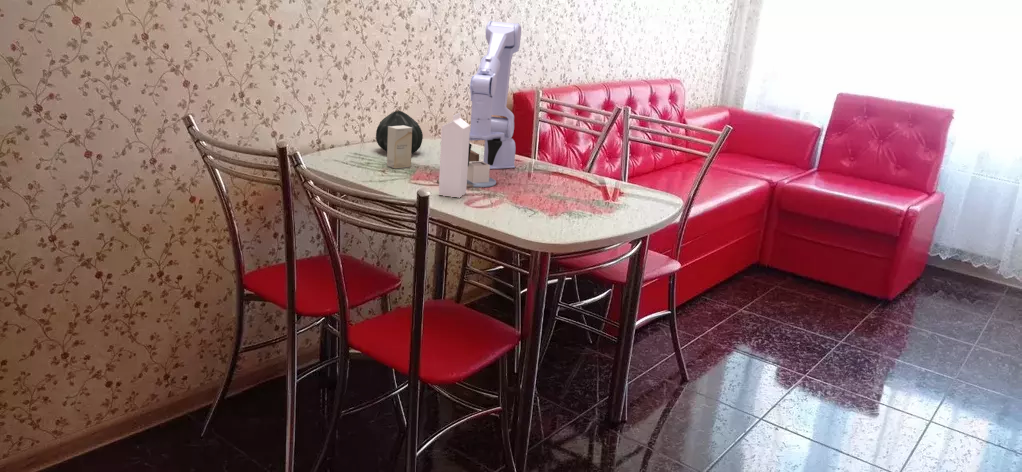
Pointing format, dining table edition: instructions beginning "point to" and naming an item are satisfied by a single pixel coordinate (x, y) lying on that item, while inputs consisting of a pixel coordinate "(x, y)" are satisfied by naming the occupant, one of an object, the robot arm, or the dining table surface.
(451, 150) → the milk
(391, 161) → the skincare box
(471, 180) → the letter cube
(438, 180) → the cork mat
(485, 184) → the light blue plate
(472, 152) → the brown upright panel
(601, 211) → the dining table surface
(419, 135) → the squash
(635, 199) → the dining table surface
